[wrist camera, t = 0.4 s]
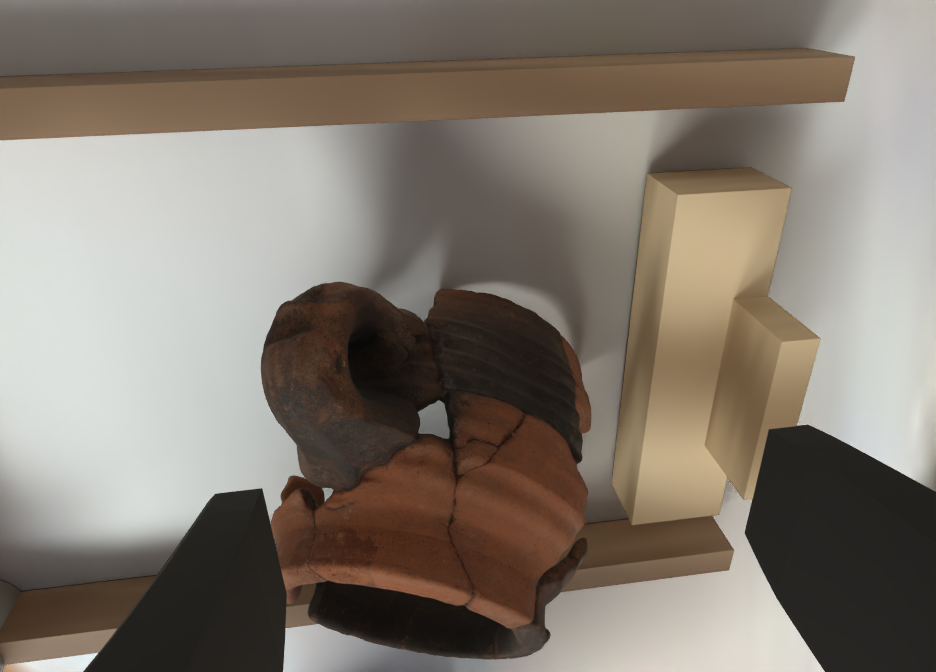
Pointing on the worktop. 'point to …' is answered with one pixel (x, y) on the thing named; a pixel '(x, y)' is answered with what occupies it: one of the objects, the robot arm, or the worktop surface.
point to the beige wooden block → (706, 345)
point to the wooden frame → (381, 101)
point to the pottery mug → (428, 468)
